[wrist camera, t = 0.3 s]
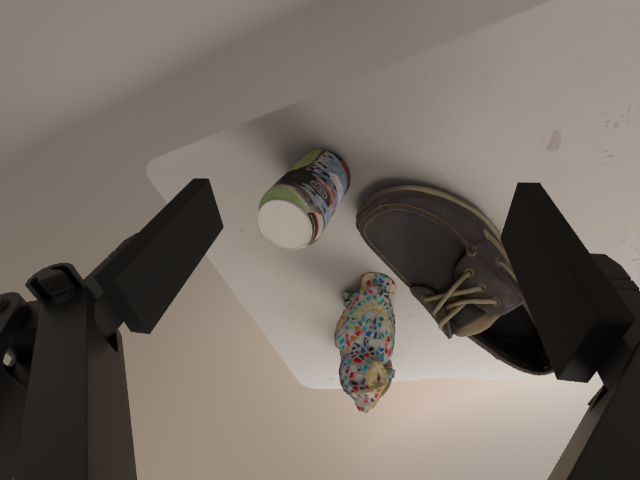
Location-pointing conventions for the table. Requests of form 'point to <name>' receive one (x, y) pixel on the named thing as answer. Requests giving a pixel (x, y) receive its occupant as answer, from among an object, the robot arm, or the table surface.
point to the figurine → (366, 340)
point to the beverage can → (303, 200)
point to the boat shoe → (454, 270)
